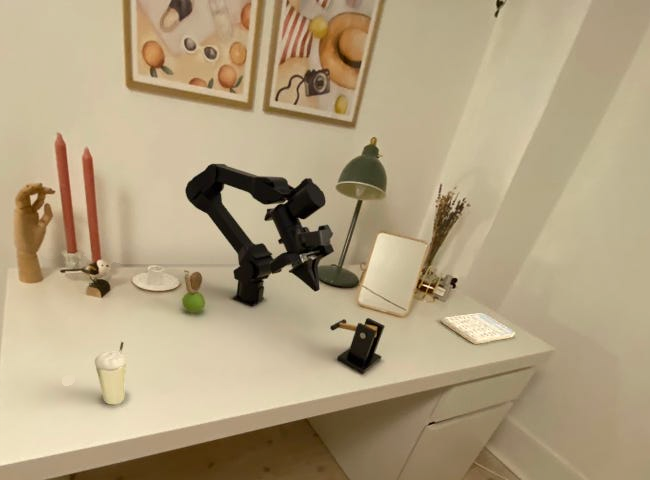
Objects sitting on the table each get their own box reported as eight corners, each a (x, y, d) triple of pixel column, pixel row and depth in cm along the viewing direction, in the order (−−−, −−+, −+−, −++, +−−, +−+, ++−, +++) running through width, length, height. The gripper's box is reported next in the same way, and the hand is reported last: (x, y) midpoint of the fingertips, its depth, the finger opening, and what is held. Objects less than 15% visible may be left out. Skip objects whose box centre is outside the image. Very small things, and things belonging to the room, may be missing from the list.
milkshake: (137, 393, 67) (134, 346, 61) (116, 411, 62) (111, 362, 57) (115, 384, 68) (110, 337, 62) (93, 401, 63) (86, 352, 58)
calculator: (439, 321, 116) (442, 316, 115) (480, 316, 125) (482, 311, 124) (474, 345, 107) (477, 339, 106) (514, 337, 116) (518, 332, 115)
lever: (330, 332, 88) (330, 322, 87) (342, 325, 92) (342, 316, 91) (368, 341, 82) (369, 331, 81) (379, 334, 86) (380, 324, 85)
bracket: (336, 360, 87) (348, 323, 82) (355, 347, 94) (367, 313, 88) (362, 374, 84) (375, 337, 79) (380, 360, 91) (393, 325, 85)
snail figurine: (175, 313, 92) (175, 267, 85) (190, 304, 97) (192, 259, 90) (194, 320, 90) (196, 274, 84) (208, 311, 96) (211, 266, 89)
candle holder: (188, 286, 105) (188, 272, 102) (151, 297, 96) (150, 281, 94) (161, 271, 110) (161, 257, 108) (123, 279, 101) (122, 264, 99)
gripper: (288, 215, 76) (320, 286, 77) (337, 209, 89) (363, 269, 90) (255, 240, 84) (284, 304, 85) (304, 231, 97) (328, 287, 98)
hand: (317, 290), depth 90 cm, fingers closed
